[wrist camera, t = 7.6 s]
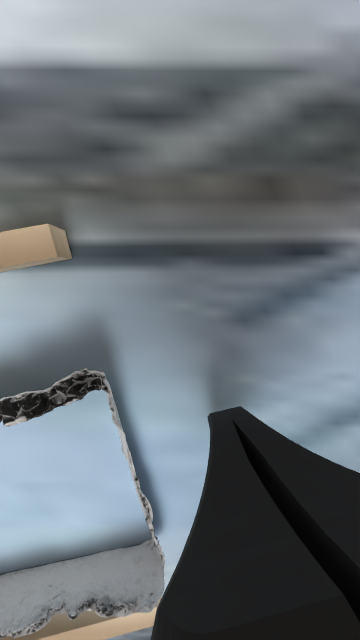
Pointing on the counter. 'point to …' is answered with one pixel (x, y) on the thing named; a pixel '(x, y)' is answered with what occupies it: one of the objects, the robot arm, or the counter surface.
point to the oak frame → (30, 250)
